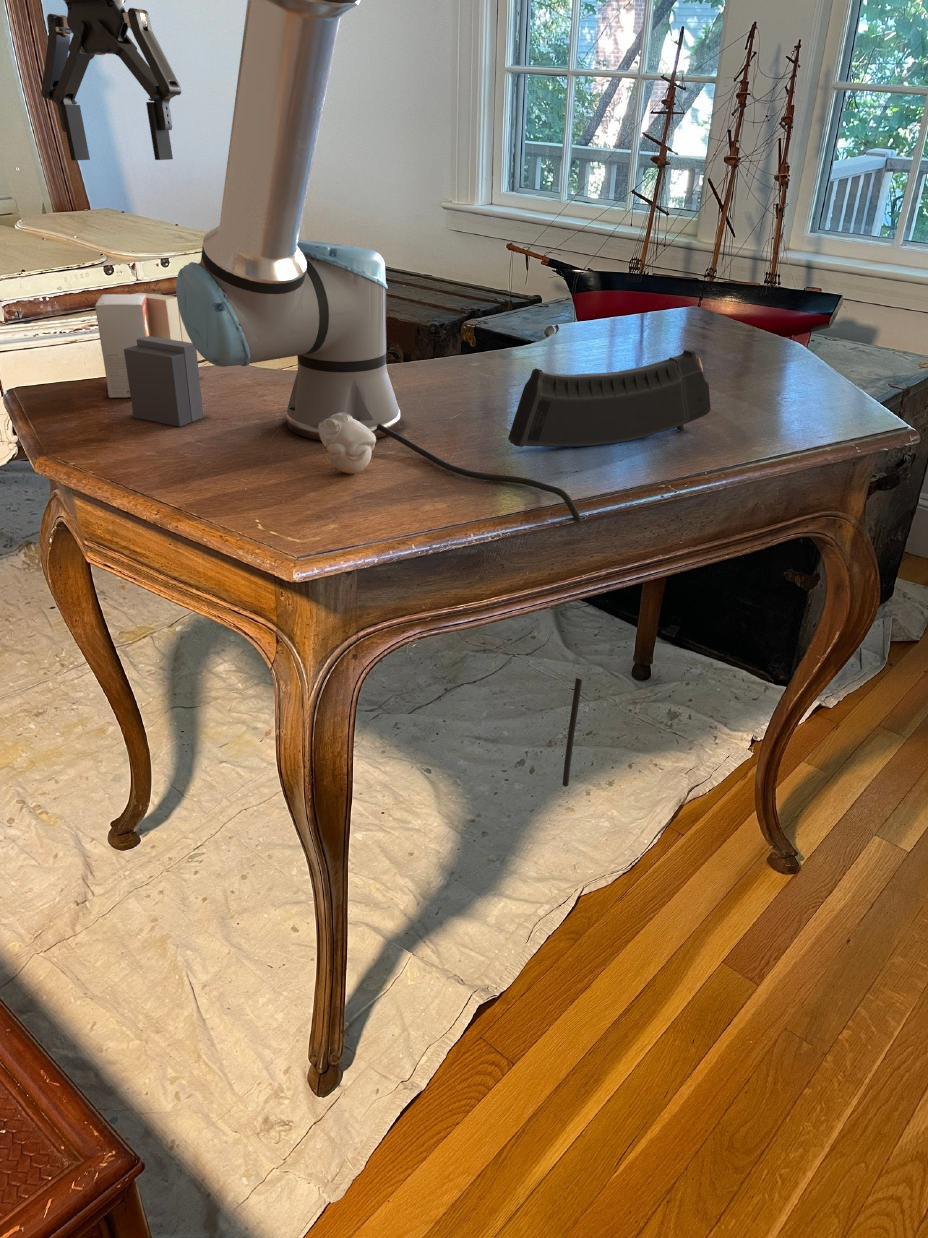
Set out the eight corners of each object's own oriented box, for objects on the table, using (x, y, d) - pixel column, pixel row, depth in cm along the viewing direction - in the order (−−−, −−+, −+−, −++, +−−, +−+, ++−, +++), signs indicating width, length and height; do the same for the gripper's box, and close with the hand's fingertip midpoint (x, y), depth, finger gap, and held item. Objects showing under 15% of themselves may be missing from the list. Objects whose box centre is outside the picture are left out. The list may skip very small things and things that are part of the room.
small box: (154, 397, 133) (142, 304, 127) (108, 398, 132) (93, 304, 126) (157, 382, 140) (146, 293, 134) (114, 383, 139) (100, 293, 132)
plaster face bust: (331, 459, 113) (329, 404, 110) (384, 467, 112) (384, 410, 108) (311, 476, 108) (308, 418, 105) (367, 484, 107) (366, 425, 103)
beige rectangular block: (197, 378, 143) (188, 294, 137) (176, 385, 139) (165, 300, 133) (162, 372, 145) (151, 289, 139) (140, 379, 141) (128, 294, 135)
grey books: (203, 417, 126) (195, 343, 121) (179, 426, 122) (170, 350, 117) (158, 408, 129) (148, 335, 124) (133, 417, 125) (122, 342, 120)
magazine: (506, 388, 111) (704, 301, 118) (493, 381, 114) (688, 296, 121) (532, 508, 121) (713, 421, 129) (520, 499, 124) (698, 414, 131)
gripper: (192, -40, 110) (217, 158, 120) (31, -25, 118) (67, 159, 128) (152, -49, 104) (182, 160, 114) (-15, -33, 112) (27, 161, 122)
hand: (121, 160), depth 121 cm, fingers open, 13 cm apart
